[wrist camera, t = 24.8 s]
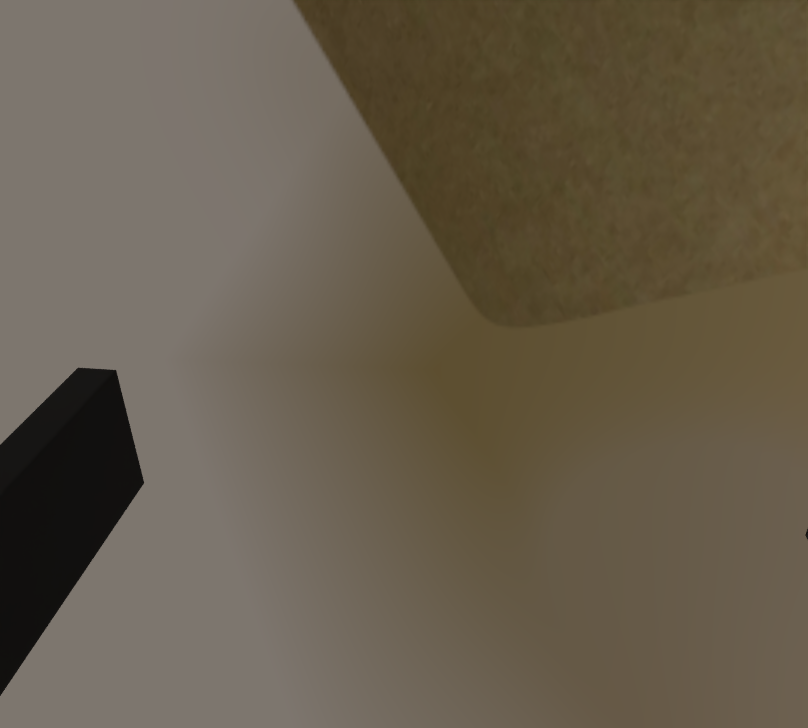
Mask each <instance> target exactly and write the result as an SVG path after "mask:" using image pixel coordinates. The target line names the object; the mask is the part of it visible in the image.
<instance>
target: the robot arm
mask: <svg viewBox="0 0 808 728" xmlns="http://www.w3.org/2000/svg"><path fill="white" fill-rule="evenodd" d="M143 484H144V481H143V477H142V473H141V469H140V465H139V461H138V457H137V453H136V449H135V445H134V441H133V436H132V432H131V428H130V424H129V421H128V416H127V413H126V408H125V404H124V401H123V396H122V392H121V388H120V384H119V380H118V376H117V372H116V370H106V369H90V368H77V369H76V370H75V371H74V372H73V373H72V374H71V375H70V376H69V378H67V379H66V380H65V381H64V382H63V383H62V384H61V385H60V386H59V387H58V388H57V389H56V390H55V391H54V392H53V393H52V394H51V395H50V396H49V397H48V398H47V399H46V400H45V401H44V402H43V403H42V404H41V405H40V406H39V407H38V408H37V409H36V410H35V411H34V412H33V413H32V414H31V415H30V416H29V417H28V418H27V419H26V420H25V421H24V422H23V423H22V424H21V425H20V426H19V427H18V428H17V429H16V430H15V431H14V432H13V433H12V434H11V435H10V436H9V437H8V438H7V439H6V440H5V441H4V442H3V443H2V444H1V445H0V695H1V694H2V692H3V691H4V690H5V688H6V687H7V685H8V684H9V682H10V681H11V679H12V678H13V676H14V675H15V673H16V672H17V670H18V669H19V667H20V666H21V664H22V663H23V661H24V660H25V658H26V657H27V655H28V654H29V652H30V651H31V650H32V648H33V647H34V645H35V644H36V642H37V641H38V639H39V638H40V636H41V635H42V633H43V632H44V630H45V629H46V627H47V626H48V624H49V623H50V621H51V620H52V618H53V617H54V616H55V614H56V613H57V611H58V610H59V608H60V607H61V605H62V604H63V602H64V601H65V599H66V598H67V596H68V595H69V593H70V592H71V590H72V589H73V587H74V586H75V584H76V583H77V581H78V580H79V579H80V577H81V576H82V574H83V573H84V571H85V570H86V568H87V567H88V565H89V564H90V562H91V561H92V559H93V558H94V556H95V555H96V553H97V552H98V550H99V549H100V547H101V546H102V544H103V543H104V541H105V540H106V539H107V537H108V535H109V534H110V533H111V531H112V530H113V528H114V526H115V525H116V524H117V522H118V521H119V519H120V518H121V516H122V515H123V513H124V512H125V510H126V509H127V507H128V506H129V504H130V503H131V501H132V500H133V499H134V497H135V495H136V494H137V493H138V491H139V490H140V488H141V487H142V485H143ZM806 537H807V539H808V529H807V532H806Z"/></svg>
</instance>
